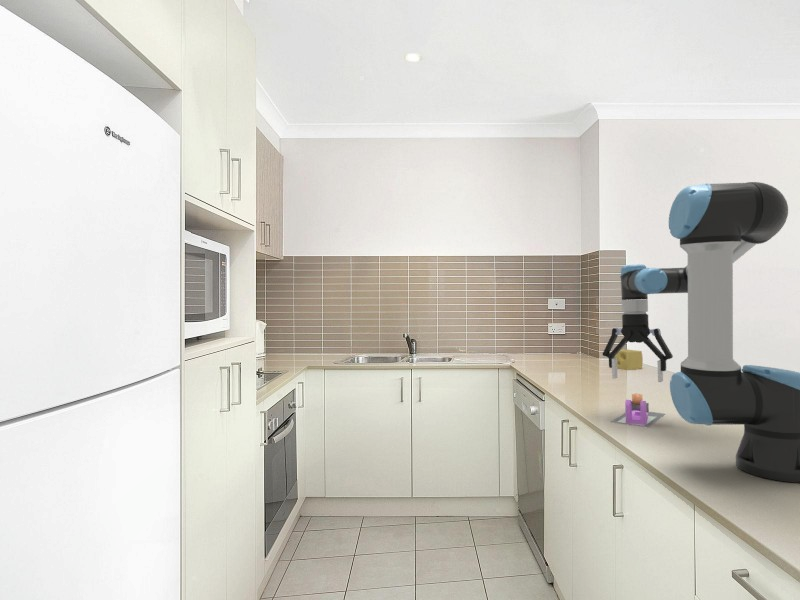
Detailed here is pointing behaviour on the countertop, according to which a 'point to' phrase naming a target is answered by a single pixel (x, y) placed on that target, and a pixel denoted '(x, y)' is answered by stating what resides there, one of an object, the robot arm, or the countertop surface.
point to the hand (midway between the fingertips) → (637, 379)
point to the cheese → (629, 359)
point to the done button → (636, 399)
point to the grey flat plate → (651, 419)
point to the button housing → (637, 407)
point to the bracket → (636, 413)
